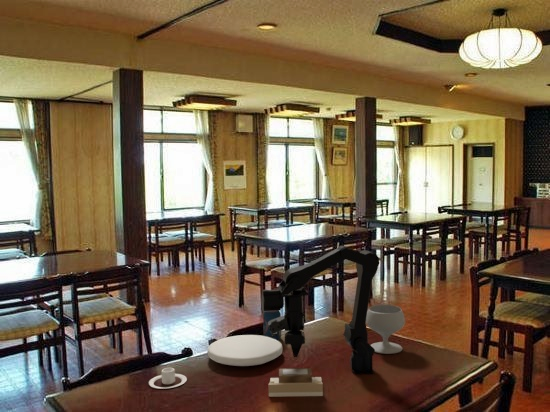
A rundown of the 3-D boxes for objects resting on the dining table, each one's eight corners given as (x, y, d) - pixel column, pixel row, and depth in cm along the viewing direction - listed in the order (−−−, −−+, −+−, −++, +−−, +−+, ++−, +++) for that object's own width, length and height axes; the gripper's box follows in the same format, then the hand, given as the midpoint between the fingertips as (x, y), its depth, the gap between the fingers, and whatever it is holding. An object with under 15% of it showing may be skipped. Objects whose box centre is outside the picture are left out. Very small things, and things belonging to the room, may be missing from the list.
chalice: (379, 340, 204) (379, 301, 203) (412, 348, 194) (412, 307, 193) (358, 349, 194) (358, 309, 193) (392, 358, 184) (391, 316, 183)
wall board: (321, 380, 167) (320, 369, 167) (323, 395, 156) (322, 384, 156) (270, 381, 168) (270, 370, 167) (268, 396, 157) (268, 384, 156)
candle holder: (149, 393, 163) (148, 379, 162) (148, 378, 174) (147, 365, 174) (188, 387, 166) (188, 374, 165) (184, 373, 177) (184, 361, 177)
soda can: (262, 337, 211) (261, 308, 210) (279, 335, 213) (278, 306, 212) (266, 343, 204) (265, 312, 203) (283, 341, 206) (282, 310, 205)
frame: (311, 379, 166) (311, 367, 165) (312, 387, 160) (311, 375, 159) (279, 379, 166) (279, 368, 166) (279, 387, 160) (278, 375, 160)
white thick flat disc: (221, 331, 206) (288, 333, 201) (221, 347, 206) (288, 351, 201) (196, 347, 179) (273, 351, 173) (196, 367, 179) (273, 371, 173)
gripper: (270, 302, 179) (271, 347, 180) (267, 318, 160) (269, 368, 161) (303, 301, 178) (304, 346, 179) (304, 317, 160) (305, 367, 161)
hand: (295, 356), depth 170 cm, fingers closed
